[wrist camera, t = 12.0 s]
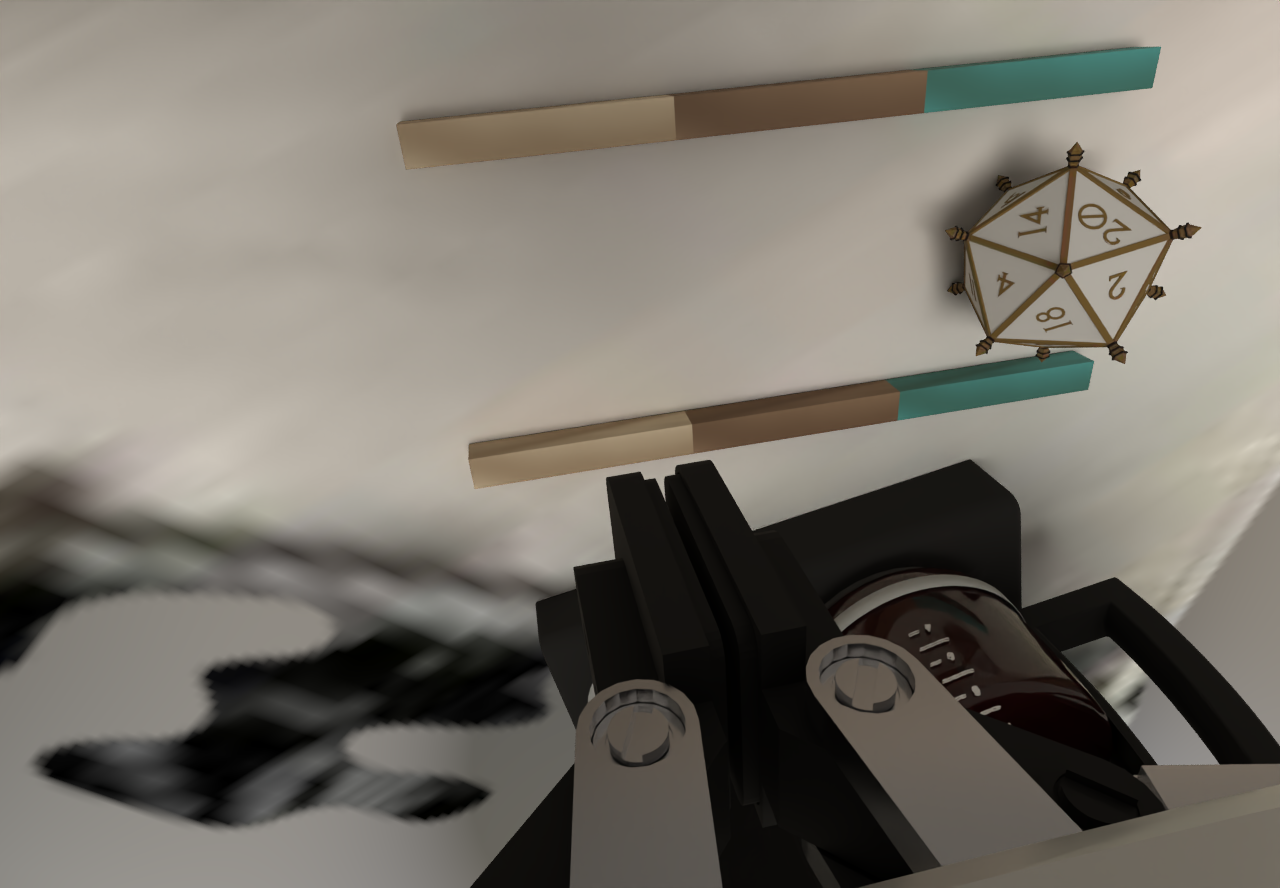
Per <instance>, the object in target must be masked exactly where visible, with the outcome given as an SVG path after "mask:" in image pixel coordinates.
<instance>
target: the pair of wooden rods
mask: <svg viewBox="0 0 1280 888" xmlns="http://www.w3.org/2000/svg"><path fill="white" fill-rule="evenodd" d="M1160 49H1161V47H1130V48H1120V49H1110V50H1101V51H1091V52H1081V53H1071V54H1061V55H1051V56H1041V57H1032V58H1022V59H1012V60H1002V61H992V62H982V63H973V64H963V65H953V66H943V67H933V68H923V69H914V70H904V71H894V72H884V73H874V74H864V75H855V76H845V77H835V78H825V79H815V80H805V81H796V82H786V83H776V84H766V85H756V86H746V87H737V88H727V89H717V90H707V91H697V92H687V93H678V94H668V95H658V96H648V97H638V98H628V99H619V100H609V101H599V102H589V103H579V104H569V105H560V106H550V107H540V108H530V109H520V110H510V111H501V112H491V113H481V114H471V115H461V116H451V117H442V118H432V119H422V120H412V121H402V122H399V123H398V124H397V125H396V126H397V131H398V135H399V140H400V145H401V149H402V154H403V158H404V163H405V168H406V170H407V169H417V168H426V167H435V166H444V165H453V164H462V163H471V162H481V161H490V160H499V159H508V158H517V157H526V156H535V155H545V154H554V153H563V152H572V151H581V150H590V149H599V148H609V147H618V146H627V145H636V144H645V143H654V142H663V141H672V140H682V139H691V138H700V137H709V136H718V135H727V134H736V133H746V132H755V131H764V130H773V129H782V128H791V127H800V126H810V125H819V124H828V123H837V122H846V121H855V120H864V119H874V118H883V117H892V116H901V115H910V114H919V113H928V112H937V111H947V110H956V109H965V108H974V107H983V106H992V105H1001V104H1011V103H1020V102H1029V101H1038V100H1047V99H1056V98H1065V97H1075V96H1084V95H1093V94H1102V93H1111V92H1120V91H1129V90H1139V89H1148V88H1152V87H1153V82H1154V78H1155V73H1156V68H1157V64H1158V59H1159V54H1160ZM1049 355H1050V357H1049V358H1047V359H1045V360H1044V361H1043V362H1041V361H1040V360H1039V359H1038V357H1029V358H1023V359H1016V360H1010V361H1003V362H997V363H990V364H984V365H977V366H971V367H964V368H958V369H952V370H945V371H939V372H932V373H926V374H919V375H913V376H906V377H900V378H893V379H887V380H881V381H874V382H868V383H861V384H855V385H848V386H842V387H835V388H829V389H822V390H816V391H809V392H803V393H797V394H790V395H784V396H777V397H771V398H764V399H758V400H751V401H745V402H738V403H732V404H725V405H719V406H713V407H706V408H700V409H693V410H687V411H680V412H674V413H667V414H661V415H654V416H648V417H641V418H635V419H629V420H622V421H616V422H609V423H603V424H596V425H590V426H583V427H577V428H570V429H564V430H558V431H551V432H545V433H538V434H532V435H525V436H519V437H512V438H506V439H499V440H493V441H486V442H480V443H474V444H469V457H468V460H469V465H470V469H471V474H472V479H473V483H474V488H475V489H478V488H484V487H491V486H497V485H503V484H509V483H515V482H521V481H528V480H534V479H540V478H546V477H552V476H558V475H565V474H571V473H577V472H583V471H589V470H595V469H602V468H608V467H614V466H620V465H626V464H632V463H639V462H645V461H651V460H657V459H663V458H669V457H676V456H682V455H688V454H694V453H700V452H706V451H713V450H719V449H725V448H731V447H737V446H743V445H750V444H756V443H762V442H768V441H774V440H780V439H787V438H793V437H799V436H805V435H811V434H817V433H824V432H830V431H836V430H842V429H848V428H854V427H861V426H867V425H873V424H879V423H885V422H891V421H898V420H904V419H910V418H916V417H922V416H928V415H935V414H941V413H947V412H953V411H959V410H965V409H972V408H978V407H984V406H990V405H996V404H1002V403H1009V402H1015V401H1021V400H1027V399H1033V398H1039V397H1046V396H1052V395H1058V394H1064V393H1070V392H1076V391H1083V390H1088V387H1089V383H1090V378H1091V373H1092V369H1093V364H1094V361H1093V360H1091V359H1089V358H1087V357H1084V356H1082V355H1080V354H1078V353H1076V352H1074V351H1068V352H1061V353H1055V354H1049Z"/></svg>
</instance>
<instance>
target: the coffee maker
mask: <svg viewBox="0 0 1280 888" xmlns="http://www.w3.org/2000/svg"><path fill="white" fill-rule="evenodd" d="M770 530H775V531H777V532H778V533H779V534H780V535H781V536H782V538H783V539H784V541H785V543H786V544H787V546H788V547H789V549H790V551H791V552H792V554H793V555H794V557H795V559H796V560H797V562H798V563H799V565H800V566H801V568H802V570H803V571H804V573H805V574H806V576H807V578H808V579H809V581H810V582H811V584H812V586H813V587H814V589H815V590H816V592H817V594H818V595H819V597H820V598H821V600H822V601H823V603H824V605H825V606H826V608H827V609H828V611H829V613H830V614H831V616H832V617H833V619H834V621H835V622H836V624H837V625H838V627H839V629H840V630H841V632H842V633H843V635H844V636H847V635H869V636H873V637H877V638H881V639H885V640H888V641H890V642H892V643H894V644H896V645H898V646H901V647H903V648H904V649H905V650H906V651H908V652H909V653H910V654H911V655H913V656H914V657H915V658H916V659H917V660H918V661H919V662H920V663H921V664H922V665H923V666H924V667H925V668H926V669H927V670H928V671H929V672H930V673H931V674H932V675H933V676H934V677H935V678H936V679H937V680H938V681H939V682H940V683H941V684H942V686H943V687H944V688H945V689H946V690H947V691H948V692H949V693H950V694H951V695H952V696H953V697H954V698H955V699H956V700H957V701H958V702H959V703H960V704H961V705H962V706H963V707H964V708H967V709H970V710H972V711H975V712H978V713H980V714H983V715H986V716H988V717H991V718H994V719H996V720H999V721H1002V722H1005V723H1007V724H1010V725H1013V726H1015V727H1018V728H1021V729H1023V730H1026V731H1029V732H1032V733H1034V734H1037V735H1040V736H1042V737H1045V738H1048V739H1050V740H1053V741H1056V742H1058V743H1061V744H1064V745H1067V746H1069V747H1072V748H1075V749H1077V750H1080V751H1083V752H1085V753H1088V754H1091V755H1094V756H1096V757H1099V758H1102V759H1104V760H1106V761H1108V762H1110V763H1112V764H1114V765H1116V766H1119V767H1121V768H1123V769H1125V770H1126V771H1128V772H1129V773H1130V774H1132V775H1138V774H1139V771H1140V768H1141V766H1142V765H1157V763H1156V762H1155V761H1154V759H1153V758H1152V757H1151V755H1150V754H1149V753H1148V751H1147V750H1146V749H1145V747H1144V746H1143V745H1142V744H1141V742H1140V741H1139V740H1138V739H1137V737H1136V736H1135V735H1134V733H1133V732H1132V731H1131V730H1130V728H1129V727H1128V726H1127V725H1126V723H1125V722H1124V721H1123V720H1122V718H1121V717H1120V716H1119V715H1118V714H1117V712H1116V711H1115V710H1114V709H1113V708H1112V706H1111V705H1110V704H1109V703H1108V702H1107V701H1106V700H1105V698H1104V697H1103V696H1102V695H1101V694H1100V693H1099V692H1098V691H1097V690H1096V689H1095V687H1094V686H1093V685H1092V684H1091V683H1090V682H1089V681H1088V680H1087V679H1086V678H1085V677H1084V676H1083V675H1082V674H1081V673H1080V672H1079V671H1078V670H1077V669H1076V668H1075V667H1074V665H1073V664H1072V663H1071V662H1070V661H1069V660H1068V659H1067V658H1066V657H1065V656H1064V655H1063V654H1062V653H1061V651H1064V650H1067V649H1070V648H1073V647H1076V646H1079V645H1082V644H1085V643H1088V642H1091V641H1093V640H1096V639H1099V638H1102V637H1105V636H1108V637H1110V638H1111V639H1112V640H1113V641H1114V642H1115V643H1117V644H1118V645H1119V646H1120V647H1121V648H1122V649H1123V650H1124V651H1125V652H1126V653H1127V654H1128V655H1129V656H1130V657H1131V658H1132V659H1133V660H1134V661H1135V662H1136V663H1137V664H1138V666H1139V667H1140V668H1141V669H1142V670H1143V671H1144V672H1145V673H1146V674H1147V675H1148V676H1149V677H1150V678H1151V680H1152V681H1153V682H1154V683H1155V684H1156V685H1157V686H1158V687H1159V688H1160V690H1161V691H1162V692H1163V693H1164V694H1165V695H1166V696H1167V698H1168V699H1169V700H1170V701H1171V702H1172V703H1173V705H1174V706H1175V707H1176V708H1177V710H1178V711H1179V712H1180V713H1181V714H1182V715H1183V717H1184V718H1185V719H1186V720H1187V722H1188V723H1189V724H1190V725H1191V727H1192V728H1193V729H1194V730H1195V732H1196V733H1197V734H1198V735H1199V737H1200V738H1201V740H1202V741H1203V742H1204V744H1205V745H1206V746H1207V748H1208V749H1209V750H1210V751H1211V753H1212V754H1213V756H1214V757H1215V758H1216V760H1217V761H1218V763H1219V764H1220V765H1228V764H1280V746H1279V744H1278V743H1277V742H1276V740H1275V739H1274V738H1273V736H1272V735H1271V734H1270V732H1269V731H1268V730H1267V728H1266V727H1265V726H1264V725H1263V723H1262V722H1261V721H1260V719H1259V718H1258V717H1257V716H1256V714H1255V713H1254V712H1253V711H1252V710H1251V708H1250V707H1249V706H1248V705H1247V704H1246V702H1245V701H1244V700H1243V699H1242V698H1241V696H1240V695H1239V694H1238V693H1237V692H1236V691H1235V690H1234V688H1233V687H1232V686H1231V685H1230V684H1229V683H1228V682H1227V681H1226V680H1225V678H1224V677H1223V676H1222V675H1221V674H1220V673H1219V672H1218V671H1217V670H1216V669H1215V668H1214V667H1213V665H1212V664H1211V663H1210V662H1209V661H1208V660H1207V659H1206V658H1205V657H1204V656H1203V655H1202V654H1201V653H1200V652H1199V651H1198V650H1197V649H1196V648H1195V647H1194V646H1193V645H1192V644H1191V643H1190V642H1189V641H1188V640H1187V639H1186V638H1185V637H1184V636H1183V635H1182V634H1181V633H1180V632H1179V631H1178V630H1177V629H1176V628H1175V627H1174V626H1173V625H1171V624H1170V623H1169V622H1168V621H1167V620H1166V619H1165V618H1164V617H1163V616H1162V615H1161V614H1160V613H1158V612H1157V611H1156V610H1155V609H1154V608H1153V607H1152V606H1150V605H1149V604H1148V603H1147V602H1146V601H1144V600H1143V599H1142V598H1141V597H1140V596H1138V595H1137V594H1136V593H1135V592H1134V591H1132V590H1131V589H1130V588H1129V587H1127V586H1126V585H1125V584H1124V583H1122V582H1121V581H1120V580H1119V579H1117V578H1115V577H1114V578H1111V579H1108V580H1105V581H1102V582H1099V583H1096V584H1093V585H1090V586H1087V587H1084V588H1081V589H1078V590H1075V591H1072V592H1069V593H1066V594H1064V595H1061V596H1058V597H1055V598H1052V599H1049V600H1046V601H1043V602H1040V603H1037V604H1034V605H1031V606H1028V607H1025V608H1022V602H1021V514H1020V508H1019V504H1018V502H1017V500H1016V499H1015V497H1014V496H1013V495H1012V494H1011V493H1010V492H1009V491H1008V490H1007V489H1006V488H1004V487H1003V486H1002V485H1001V484H1000V483H998V482H997V481H996V480H995V479H994V478H992V477H991V476H990V475H989V474H987V473H986V472H985V471H984V470H983V469H981V468H980V467H979V466H978V465H977V464H975V463H974V462H973V461H972V460H969V461H966V462H962V463H959V464H956V465H953V466H950V467H947V468H944V469H941V470H938V471H935V472H932V473H929V474H926V475H923V476H920V477H917V478H914V479H911V480H908V481H905V482H902V483H899V484H896V485H893V486H890V487H887V488H884V489H880V490H877V491H874V492H871V493H868V494H865V495H862V496H859V497H856V498H853V499H850V500H847V501H844V502H841V503H838V504H835V505H832V506H829V507H826V508H823V509H820V510H817V511H814V512H811V513H808V514H805V515H802V516H798V517H795V518H792V519H789V520H786V521H783V522H780V523H777V524H774V525H771V526H768V527H765V528H762V529H759V530H756V531H753V533H760V532H765V531H770ZM536 613H537V624H538V634H539V642H540V646H541V650H542V653H543V656H544V658H545V660H546V663H547V665H548V667H549V670H550V672H551V674H552V676H553V679H554V681H555V683H556V685H557V688H558V690H559V692H560V694H561V697H562V699H563V701H564V703H565V706H566V708H567V710H568V712H569V715H570V717H571V719H572V722H573V724H574V726H575V729H577V724H578V720H579V716H580V714H581V713H582V711H583V710H584V708H585V706H586V705H587V703H588V702H589V701H590V700H591V699H593V698H594V697H595V692H594V687H593V681H592V676H591V671H590V665H589V660H588V654H587V649H586V643H585V637H584V632H583V626H582V620H581V614H580V607H579V601H578V595H577V590H574V591H571V592H568V593H565V594H562V595H559V596H556V597H552V598H549V599H546V600H543V601H540V602H537V603H536ZM730 792H731V808H730V833H731V838H730V840H729V842H728V844H727V845H726V847H725V849H724V850H723V852H722V854H721V856H720V857H719V866H720V873H721V880H722V888H823V887H822V885H821V883H820V882H819V880H818V878H817V877H816V875H815V873H814V871H813V870H812V868H811V866H810V865H809V863H808V861H807V859H806V856H805V854H804V851H803V849H802V843H801V838H800V837H798V836H796V835H794V834H792V833H790V832H788V831H786V830H784V829H782V828H780V827H778V824H777V825H773V826H768V827H764V828H763V827H762V824H761V822H760V819H759V816H758V814H757V811H756V808H755V805H754V803H753V804H748V805H744V806H742V805H741V804H740V802H739V800H738V797H737V794H736V792H735V789H734V786H733V783H732V780H731V777H730Z"/></svg>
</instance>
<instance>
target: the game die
mask: <svg viewBox="0 0 1280 888" xmlns="http://www.w3.org/2000/svg"><path fill="white" fill-rule="evenodd" d="M1083 153H1084V150H1082V149H1081V147H1080V145H1079V144H1078V142H1077V143H1076V144H1075V145H1074V146H1073V147H1072V148H1071V149H1070V150H1069V151H1067V154H1068V157H1067V158H1066V159H1067V161H1068V166H1067V167H1065V168H1062V169H1059V170H1057V171H1054V172H1051V173H1049V174H1046V175H1044V176H1041V177H1038V178H1036V179H1033V180H1030V181H1028V182H1025V183H1022V184H1020V185H1017V186H1015V187H1011V181H1009V177H1004V176H999V175H998V181H997V184H996V186H998V187H999V190H1002V191H1004V194H1003V195H1002V196H1001V197H1000V198H999V199H998V200H997V201H996V202H995V203H994V205H993V206H992V207H991V208H990V209H989V210H988V211H987V212H986V213H985V214H984V215H983V216H982V217H981V218H980V220H979V221H978V222H977V223H976V224H975V225H974V226H973V227H972V228H971V229H970V230H969V231H968V232H965V231H964V230H963V228H961V229H960V228H958V227H957V226H955V227H954V228H951V229H948V230H945V231H946V232H947V234H948V235H949V237H950V240H953V239H955V241H959V240H963V241H964V283H959V282H957V284H955V283H952V286H951V287H950V288H949V289H948V292H951V293H953V294H954V295H957V294H958V293H959V294H961V293H962V292H963V291H966V293H967V295H968V297H969V299H970V302H971V304H972V306H973V308H974V310H975V312H976V314H977V317H978V319H979V321H980V323H981V325H982V327H983V329H984V331H985V334H986V336H987V337H986V339H984V340H980V343H979V344H976V346H977V348H976V356H978V355H981V354H985V353H986V354H987V353H988V350H989V349H991V347H992V343H994V342H999V343H1007V344H1015V345H1024V346H1032V347H1039V349H1038V350H1037V354H1036V356H1035V357H1038V359H1039V360H1040V361H1041V362H1043V361H1044V360H1045V359H1047V358H1049V357H1050V355H1049V353H1050V350H1049V349H1048V348H1077V347H1108V348H1109V355H1111V356H1112V360H1116V361H1118V362H1121V363H1124V364H1125V361H1126V353H1128V352H1127V351H1124V349H1123V348H1124V347H1123V346H1120V345H1118V344H1117V341H1118V339H1119V338H1120V336H1121V335H1122V333H1123V331H1124V330H1125V328H1126V327H1127V325H1128V323H1129V322H1130V320H1131V318H1132V317H1133V315H1134V314H1135V312H1136V310H1137V309H1138V307H1139V306H1140V304H1141V302H1142V301H1143V299H1144V298H1145V296H1146V294H1147V295H1148V296H1149V298H1154V299H1155V300H1156V299H1158V298H1160V297H1163V296H1166V294H1165V292H1164V290H1163V287H1158V286H1157V285H1155V286H1151V285H1152V283H1153V281H1154V279H1155V277H1156V275H1157V272H1158V270H1159V268H1160V266H1161V264H1162V262H1163V260H1164V258H1165V256H1166V253H1167V251H1168V249H1169V247H1170V245H1171V243H1172V241H1173V240H1174V239H1181V240H1184V238H1192V236H1193V235H1194V234H1195V233H1196V232H1197V231H1198V230H1200V229H1201V227H1197V226H1194V225H1190V224H1189V223H1186V225H1183V226H1181V225H1179V227H1178V228H1176V229H1174V230H1170V229H1169V228H1168V227H1167V226H1166V225H1165V224H1164V222H1163V221H1162V220H1161V219H1160V218H1159V217H1158V216H1157V215H1156V214H1155V213H1154V212H1153V211H1152V210H1151V209H1150V208H1149V207H1148V206H1147V205H1146V204H1145V203H1144V202H1143V201H1142V200H1141V199H1140V198H1139V197H1138V196H1137V195H1136V194H1135V193H1134V192H1133V191H1132V190H1131V189H1130V188H1131V187H1132V186H1136V185H1137V182H1139V181H1141V179H1140V170H1138V171H1134V172H1129V173H1128V175H1127V177H1125V178H1124V181H1123V184H1122V183H1120V182H1117V181H1115V180H1112V179H1110V178H1108V177H1105V176H1103V175H1100V174H1098V173H1095V172H1093V171H1091V170H1088V169H1086V168H1083V167H1081V166H1079V162H1080V161H1081V160H1082V158H1083V157H1082V154H1083Z"/></svg>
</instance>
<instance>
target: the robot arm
mask: <svg viewBox="0 0 1280 888" xmlns="http://www.w3.org/2000/svg"><path fill="white" fill-rule="evenodd" d="M606 485H607V494H608V502H609V510H610V518H611V526H612V534H613V543H614V551H615V559H614V560H609V561H604V562H598V563H593V564H587V565H582V566H577V567H574V575H575V582H576V588H577V595H578V601H579V607H580V614H581V620H582V626H583V632H584V637H585V643H586V649H587V654H588V660H589V665H590V671H591V676H592V681H593V687H594V692H595V697H594V698H593V699H591V700H590V701H589V702H588V703H587V705H586V706H585V708H584V710H583V711H582V713H581V714H580V716H579V720H578V724H577V729H576V742H575V763H574V764H573V766H572V767H571V768H570V769H569V770H568V772H567V773H566V774H565V775H564V776H563V777H562V779H561V780H560V781H559V782H558V783H557V785H556V786H555V787H554V788H553V790H552V791H551V792H550V793H549V794H548V796H547V797H546V798H545V799H544V800H543V801H542V803H541V804H540V805H539V806H538V807H537V808H536V810H535V811H534V812H533V813H532V814H531V816H530V817H529V818H528V819H527V820H526V822H525V823H524V824H523V825H522V826H521V827H520V829H519V830H518V831H517V832H516V833H515V835H514V836H513V837H512V838H511V839H510V841H509V842H508V843H507V844H506V845H505V847H504V848H503V849H502V850H501V851H500V852H499V854H498V855H497V856H496V857H495V858H494V860H493V861H492V862H491V863H490V864H489V866H488V867H487V868H486V869H485V871H484V872H483V873H482V874H481V875H480V876H479V878H478V879H477V880H476V881H475V882H474V883H473V885H472V886H471V887H470V888H722V880H721V873H720V866H719V857H720V856H721V854H722V852H723V850H724V849H725V847H726V845H727V844H728V842H729V840H730V838H731V833H730V808H731V792H730V777H731V780H732V783H733V786H734V789H735V792H736V794H737V797H738V800H739V802H740V804H741V805H742V806H744V805H748V804H753V803H754V805H755V808H756V811H757V814H758V816H759V819H760V822H761V824H762V827H763V828H764V827H768V826H773V825H777V824H778V827H780V828H782V829H784V830H786V831H788V832H790V833H792V834H794V835H796V836H798V837H800V838H801V843H802V849H803V851H804V854H805V856H806V859H807V861H808V863H809V865H810V866H811V868H812V870H813V871H814V873H815V875H816V877H817V878H818V880H819V882H820V883H821V885H822V887H823V888H1280V764H1228V765H1142V766H1141V768H1140V771H1139V774H1138V775H1132V774H1130V773H1129V772H1128V771H1126V770H1125V769H1123V768H1121V767H1119V766H1116V765H1114V764H1112V763H1110V762H1108V761H1106V760H1104V759H1102V758H1099V757H1096V756H1094V755H1091V754H1088V753H1085V752H1083V751H1080V750H1077V749H1075V748H1072V747H1069V746H1067V745H1064V744H1061V743H1058V742H1056V741H1053V740H1050V739H1048V738H1045V737H1042V736H1040V735H1037V734H1034V733H1032V732H1029V731H1026V730H1023V729H1021V728H1018V727H1015V726H1013V725H1010V724H1007V723H1005V722H1002V721H999V720H996V719H994V718H991V717H988V716H986V715H983V714H980V713H978V712H975V711H972V710H970V709H967V708H964V707H963V706H962V705H961V704H960V703H959V702H958V701H957V700H956V699H955V698H954V697H953V696H952V695H951V694H950V693H949V692H948V691H947V690H946V689H945V688H944V687H943V686H942V684H941V683H940V682H939V681H938V680H937V679H936V678H935V677H934V676H933V675H932V674H931V673H930V672H929V671H928V670H927V669H926V668H925V667H924V666H923V665H922V664H921V663H920V662H919V661H918V660H917V659H916V658H915V657H914V656H913V655H911V654H910V653H909V652H908V651H906V650H905V649H904V648H903V647H901V646H898V645H896V644H894V643H892V642H890V641H888V640H885V639H881V638H877V637H873V636H869V635H847V636H844V635H843V633H842V632H841V630H840V629H839V627H838V625H837V624H836V622H835V621H834V619H833V617H832V616H831V614H830V613H829V611H828V609H827V608H826V606H825V605H824V603H823V601H822V600H821V598H820V597H819V595H818V594H817V592H816V590H815V589H814V587H813V586H812V584H811V582H810V581H809V579H808V578H807V576H806V574H805V573H804V571H803V570H802V568H801V566H800V565H799V563H798V562H797V560H796V559H795V557H794V555H793V554H792V552H791V551H790V549H789V547H788V546H787V544H786V543H785V541H784V539H783V538H782V536H781V535H780V534H779V533H778V532H777V531H775V530H770V531H765V532H760V533H753V532H752V530H751V528H750V527H749V525H748V523H747V521H746V520H745V518H744V516H743V514H742V513H741V511H740V509H739V507H738V506H737V504H736V502H735V500H734V499H733V497H732V495H731V493H730V492H729V490H728V488H727V486H726V485H725V483H724V481H723V480H722V478H721V476H720V474H719V473H718V471H717V469H716V467H715V466H714V464H713V462H712V461H711V460H705V461H699V462H694V463H688V464H682V465H677V466H676V468H675V475H671V476H665V479H664V486H665V499H666V502H665V500H664V497H663V495H662V492H661V490H660V488H659V485H658V483H657V481H656V479H655V478H654V479H648V480H644V478H643V476H642V474H641V472H635V473H629V474H623V475H618V476H612V477H607V478H606Z"/></svg>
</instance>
